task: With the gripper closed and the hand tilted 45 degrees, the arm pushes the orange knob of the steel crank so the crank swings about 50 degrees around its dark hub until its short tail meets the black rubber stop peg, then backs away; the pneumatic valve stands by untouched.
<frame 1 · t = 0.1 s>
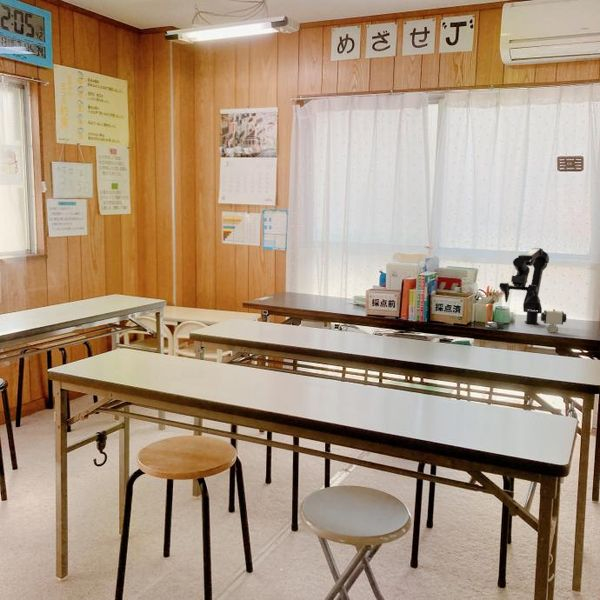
hand: (515, 302, 318), 15 cm above the table, tool tilted 35°, fingers open, 9 cm apart
stop peg: (500, 327, 330), on the table
pneumatic valve: (552, 332, 321), on the table
hub plate: (492, 327, 330), on the table
crank: (491, 315, 332), point 6 cm above the table, hinge at 0.0°
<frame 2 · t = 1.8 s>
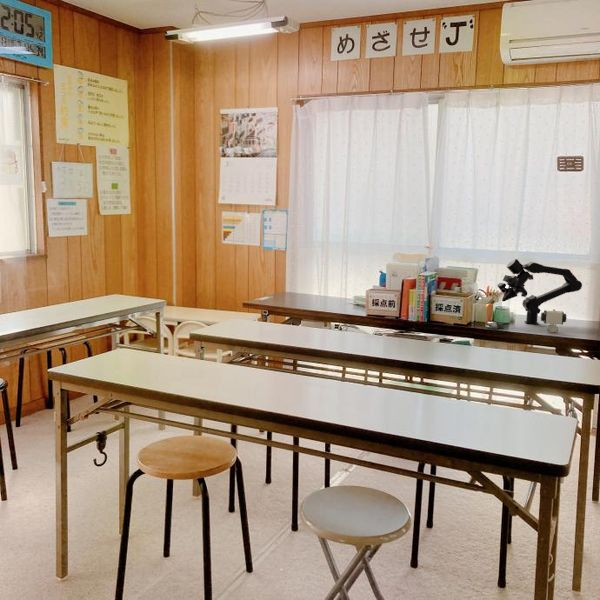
hand: (502, 300, 338), 13 cm above the table, tool tilted 45°, fingers closed
nothing on the table moved.
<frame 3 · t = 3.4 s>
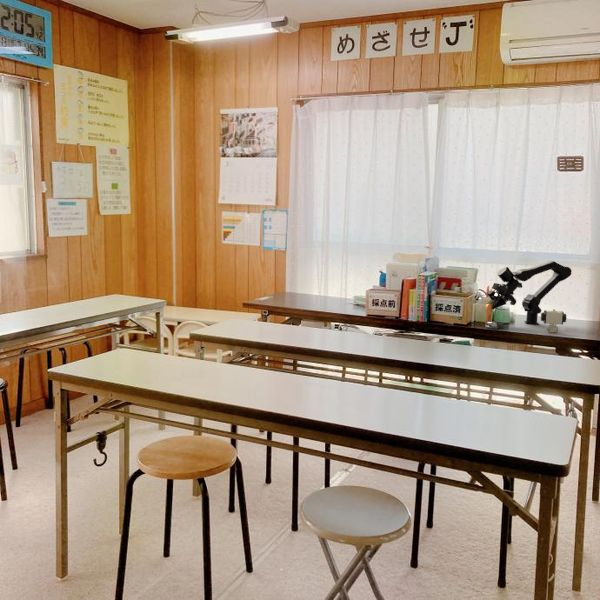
hand: (491, 308, 337), 9 cm above the table, tool tilted 45°, fingers closed, pressing on crank
crank: (491, 315, 332), point 6 cm above the table, hinge at 1.0°, touching gripper
everything else where it was.
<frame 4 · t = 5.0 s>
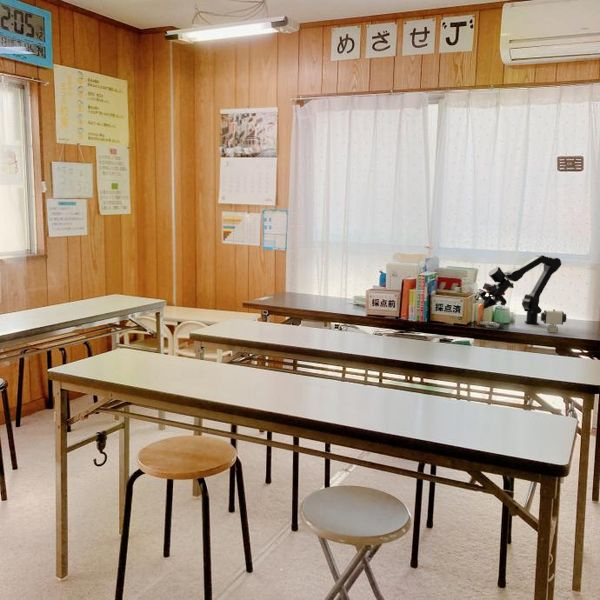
hand: (482, 309, 336), 9 cm above the table, tool tilted 45°, fingers closed, pressing on crank
crank: (488, 316, 331), point 6 cm above the table, hinge at 41.4°, touching gripper
everything else where it was.
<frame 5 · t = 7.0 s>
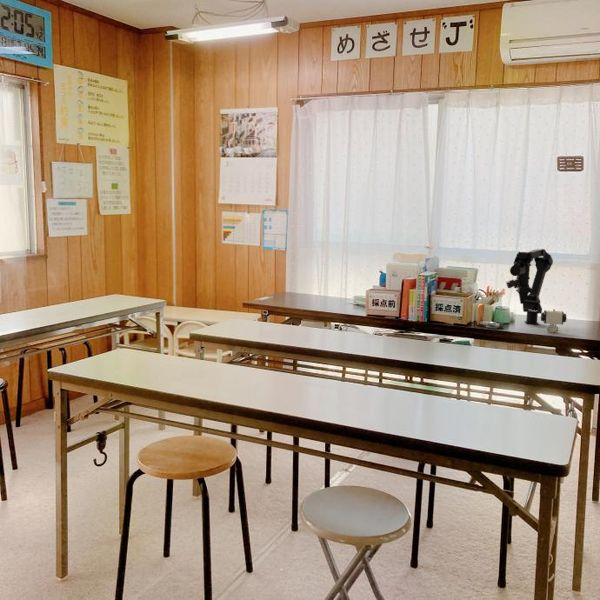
hand: (521, 303, 333), 12 cm above the table, tool pointing down, fingers closed
crank: (488, 316, 331), point 6 cm above the table, hinge at 41.5°
everything else where it was.
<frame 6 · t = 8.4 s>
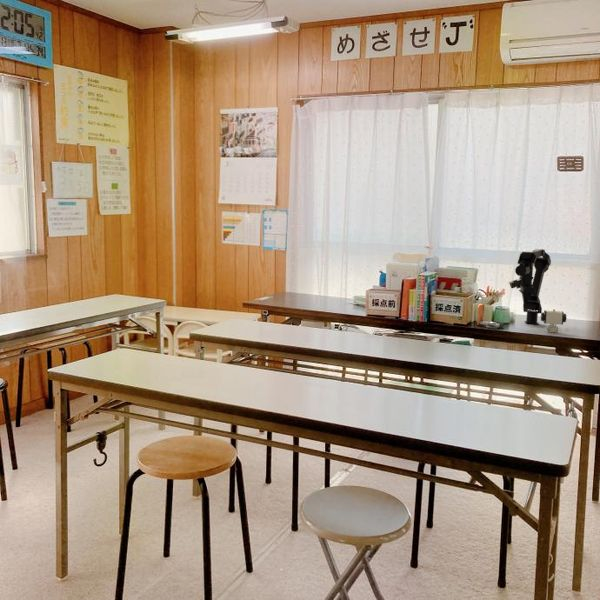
hand: (524, 303, 332), 13 cm above the table, tool pointing down, fingers closed
nothing on the table moved.
at the end: crank at +42° (first picture: +0°) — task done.
